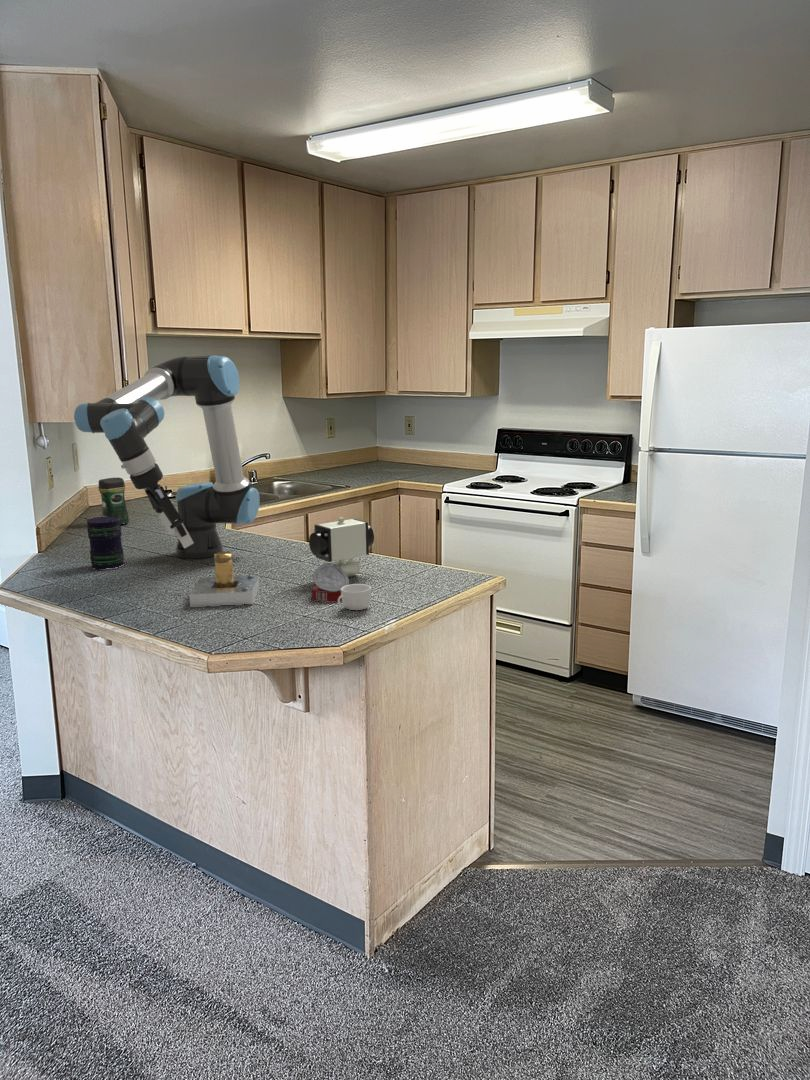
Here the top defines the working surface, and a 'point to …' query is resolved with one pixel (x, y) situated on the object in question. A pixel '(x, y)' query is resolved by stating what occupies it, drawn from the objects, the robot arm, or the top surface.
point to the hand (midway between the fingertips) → (181, 538)
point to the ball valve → (342, 543)
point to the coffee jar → (113, 498)
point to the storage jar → (105, 542)
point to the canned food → (328, 582)
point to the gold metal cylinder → (224, 570)
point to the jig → (224, 592)
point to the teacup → (355, 596)
